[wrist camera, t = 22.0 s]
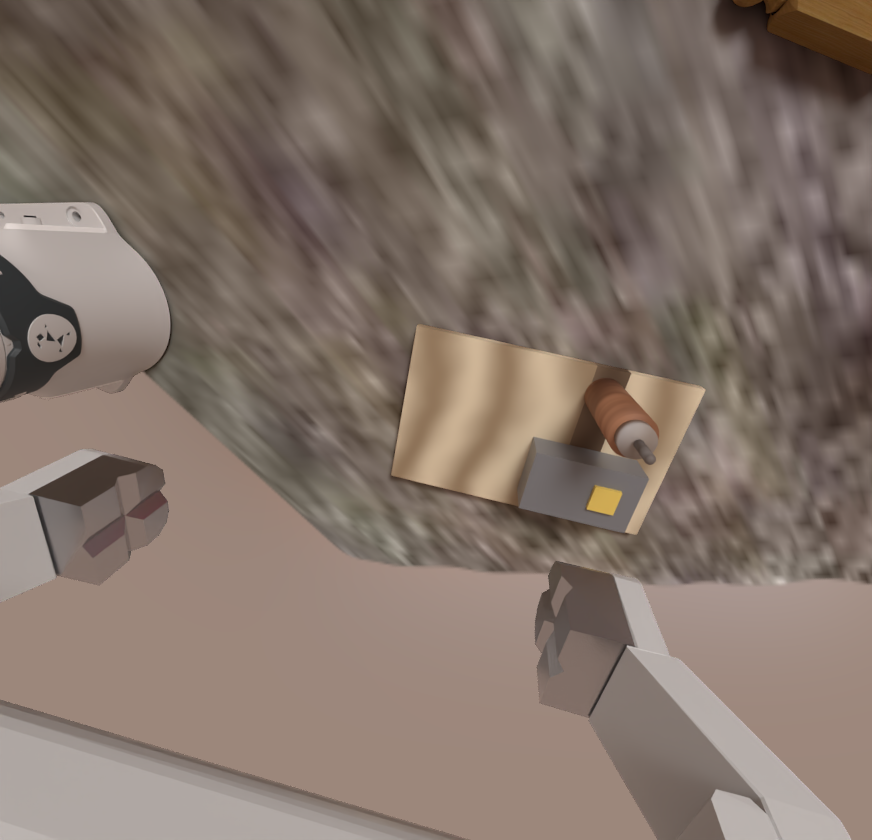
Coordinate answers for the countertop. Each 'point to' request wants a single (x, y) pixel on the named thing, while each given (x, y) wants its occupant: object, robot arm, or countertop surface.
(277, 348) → the countertop surface
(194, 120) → the countertop surface
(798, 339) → the countertop surface
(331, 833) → the robot arm
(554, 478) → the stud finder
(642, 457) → the awl
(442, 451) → the subfloor panel
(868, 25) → the tap handle
